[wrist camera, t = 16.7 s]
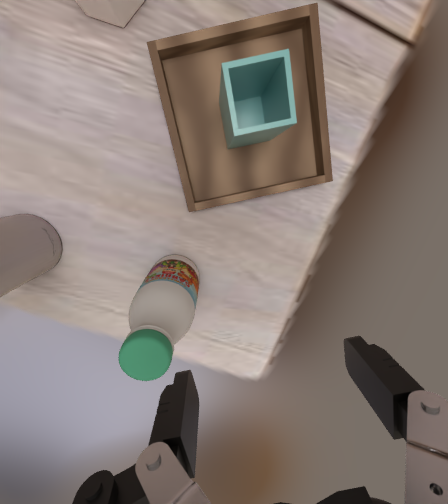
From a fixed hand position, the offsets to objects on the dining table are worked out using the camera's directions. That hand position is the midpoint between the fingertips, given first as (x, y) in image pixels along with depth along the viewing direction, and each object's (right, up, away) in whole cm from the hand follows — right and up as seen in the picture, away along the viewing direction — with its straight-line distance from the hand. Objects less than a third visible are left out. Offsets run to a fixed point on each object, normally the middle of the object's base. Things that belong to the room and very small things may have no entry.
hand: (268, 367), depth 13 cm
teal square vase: (+1, +24, +22) cm, 32 cm away
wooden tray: (0, +24, +22) cm, 33 cm away
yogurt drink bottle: (-10, +2, +28) cm, 30 cm away
